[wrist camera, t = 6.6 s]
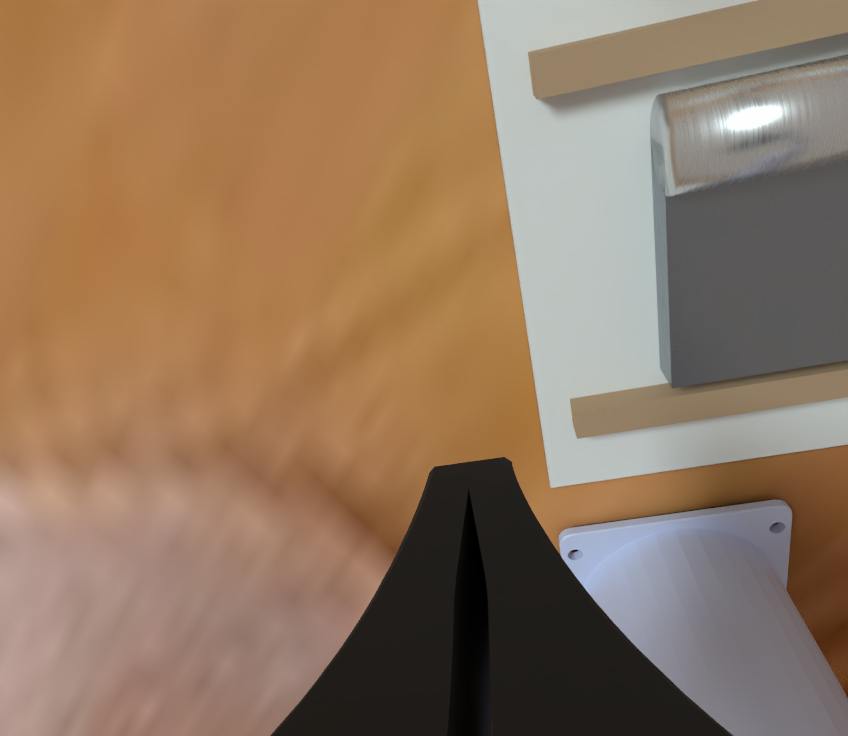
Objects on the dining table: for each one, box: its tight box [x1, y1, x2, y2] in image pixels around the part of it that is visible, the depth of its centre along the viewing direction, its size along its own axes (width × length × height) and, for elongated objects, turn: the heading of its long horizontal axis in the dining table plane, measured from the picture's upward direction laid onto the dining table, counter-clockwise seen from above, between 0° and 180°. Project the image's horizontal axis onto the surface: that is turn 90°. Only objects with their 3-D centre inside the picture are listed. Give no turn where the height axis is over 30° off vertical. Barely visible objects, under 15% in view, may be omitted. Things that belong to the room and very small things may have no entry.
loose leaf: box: [650, 54, 848, 388], centre depth 17 cm, size 8×7×2 cm
